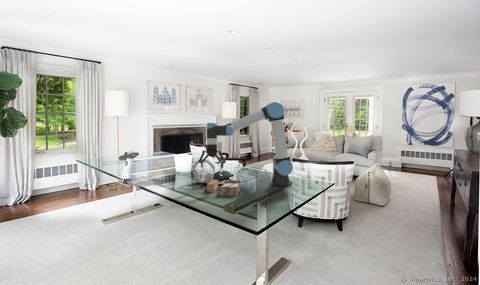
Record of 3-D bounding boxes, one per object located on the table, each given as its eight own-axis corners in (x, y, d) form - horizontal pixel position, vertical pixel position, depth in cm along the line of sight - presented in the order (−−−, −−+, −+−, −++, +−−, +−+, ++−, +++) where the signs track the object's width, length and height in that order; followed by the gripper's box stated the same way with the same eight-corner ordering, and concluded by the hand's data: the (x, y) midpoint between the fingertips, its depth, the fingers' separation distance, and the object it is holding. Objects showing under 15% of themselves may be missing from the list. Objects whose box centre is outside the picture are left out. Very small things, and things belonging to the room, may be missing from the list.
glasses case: (218, 187, 204) (218, 179, 203) (214, 192, 190) (213, 184, 189) (211, 187, 204) (211, 179, 204) (206, 192, 190) (206, 184, 190)
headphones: (216, 182, 220) (216, 158, 218) (213, 185, 210) (212, 160, 208) (195, 181, 223) (195, 158, 221) (191, 184, 213) (190, 159, 211)
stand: (240, 188, 200) (240, 180, 199) (236, 195, 180) (236, 187, 180) (225, 187, 202) (224, 180, 201) (219, 195, 182) (218, 186, 181)
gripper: (229, 143, 196) (229, 171, 198) (197, 143, 199) (197, 170, 201) (227, 144, 188) (227, 173, 190) (193, 144, 192) (194, 172, 194)
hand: (212, 172), depth 196 cm, fingers open, 13 cm apart
